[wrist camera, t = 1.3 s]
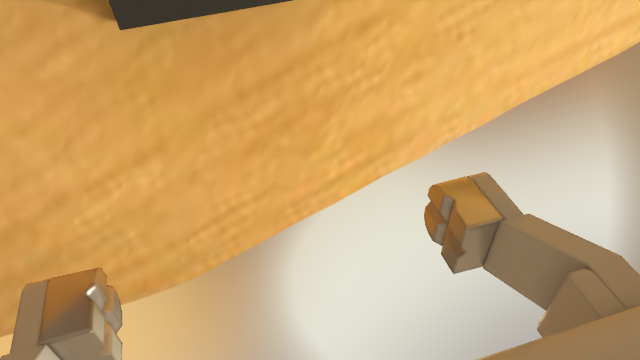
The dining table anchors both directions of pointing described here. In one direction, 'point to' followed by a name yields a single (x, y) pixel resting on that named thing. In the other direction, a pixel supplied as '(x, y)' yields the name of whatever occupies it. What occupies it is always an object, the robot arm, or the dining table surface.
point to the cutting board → (174, 10)
